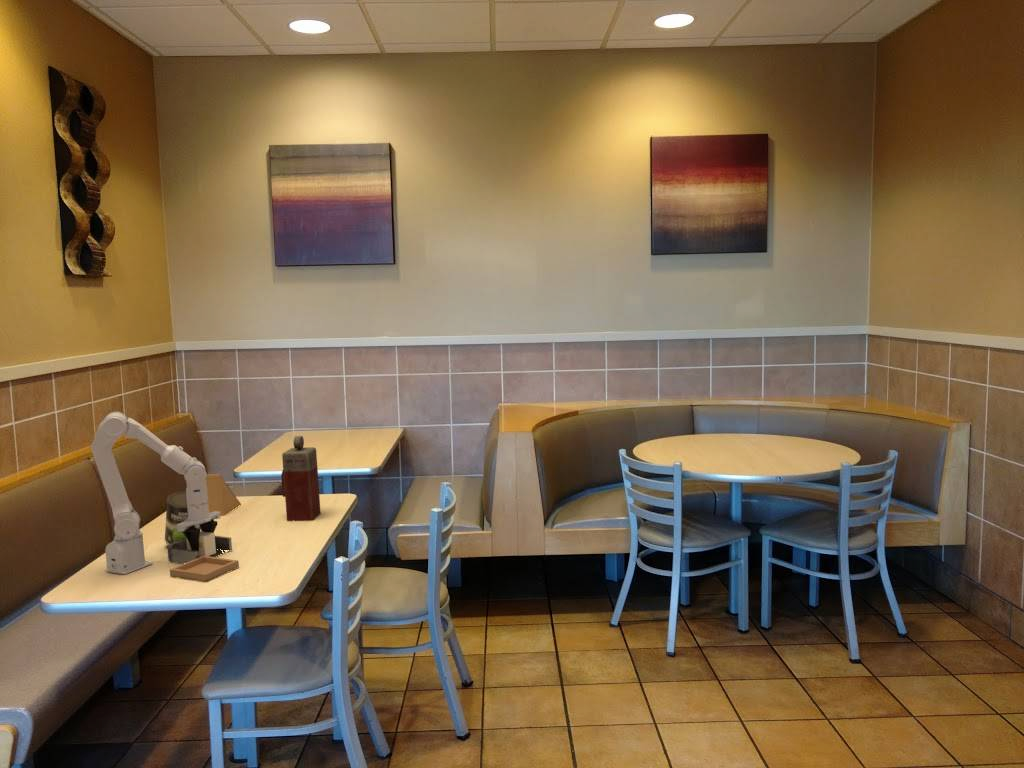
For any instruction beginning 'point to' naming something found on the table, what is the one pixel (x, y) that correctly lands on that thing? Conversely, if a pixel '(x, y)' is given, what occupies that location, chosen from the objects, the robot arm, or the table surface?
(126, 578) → the table surface
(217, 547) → the bay
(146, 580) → the table surface
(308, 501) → the red pepper mill
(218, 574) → the tray
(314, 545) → the table surface
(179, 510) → the coffee can
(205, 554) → the block with grey knob
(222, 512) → the sandwich container
